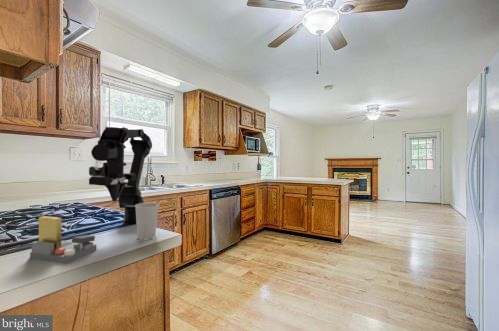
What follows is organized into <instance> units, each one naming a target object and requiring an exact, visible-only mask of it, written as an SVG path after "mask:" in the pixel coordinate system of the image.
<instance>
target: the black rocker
mask: <svg viewBox="0 0 499 331" xmlns="http://www.w3.org/2000/svg"><path fill="white" fill-rule="evenodd" d="M95 239H96V237H95V235H90V234H89V235H88V234H86V235H85V234H84V235H80V236H79V235H78V236H73V237H72V239H71V242H73V243H86V242H94V241H95Z"/></svg>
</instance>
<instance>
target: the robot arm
mask: <svg viewBox="0 0 499 331" xmlns="http://www.w3.org/2000/svg"><path fill="white" fill-rule="evenodd" d="M129 139H130V140H129ZM127 141H129V144H130V145H131V150H132V152H133V158H132V162H131V165H130V166H131V167H130V170H129V172H124V171H125V170H124V169H125V168H124V167H126V166H127V162H125V161H124V159H125V149H126V148H127V147H126V145H125V142H127ZM152 148H153V143H152V139H151V137H150V136H149V135H148V134H146V133H145V131H144V129H142V128H140V127H138V128H137V127H131V128H128V127H124V126H110V125H109V126H106V127H104V129H103V131H102V133H101V135H100V137H99V140H98V141H97V144H95V145H94V146H93V147H92V149H91V153H90V154H91V157H93V159H94V160H95V161H97V162H103V163H102V166H101V167H97V165H96V166H95V165H93V166H90V167H89V168H88V174H89V176H90V177H89V178H88V185H91V186H105V187H106V189H107V191H108V192H109V195H110V198H111V200H112V202H117V201H118V205H119V209H124V211H123V212H124V216H123V217H124V218H122V219H123V221H122V224H132V223H136V209H135V205H136V204H139V203H145V202H144V199H143V197H142V191H141V189H140V182H141V178H142V172H143V168H144V163H145V159H146V158H147V157H148V156H149V154H150V153H151V149H152ZM125 180H126V182H125Z"/></svg>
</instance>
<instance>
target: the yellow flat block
mask: <svg viewBox="0 0 499 331" xmlns="http://www.w3.org/2000/svg"><path fill="white" fill-rule="evenodd" d="M38 241H41V242H49V243H54V251H55V249H57V248H61V241H62V217H57V216H48V215H45V216H44V215H43V216H39V217H38Z"/></svg>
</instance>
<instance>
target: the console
mask: <svg viewBox="0 0 499 331" xmlns="http://www.w3.org/2000/svg"><path fill="white" fill-rule="evenodd" d="M95 250H97V244H94V241H90V242H86V243H73V242H72V240H71V241H69V240H61V248H57V249H55V251H54V243H49V242H41V241H39V240H35V241H32V242H31V252H30V253H29V259H35V260H42V261H45V260H46V261H50V262H51V261H52V262H57V263H58V262H59V263H65V264H70V263H71V262H73V261H75V260H77V259H79V258H81V257H84V256H85V255H87V254H89V253H91V252H94V251H95Z"/></svg>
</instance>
